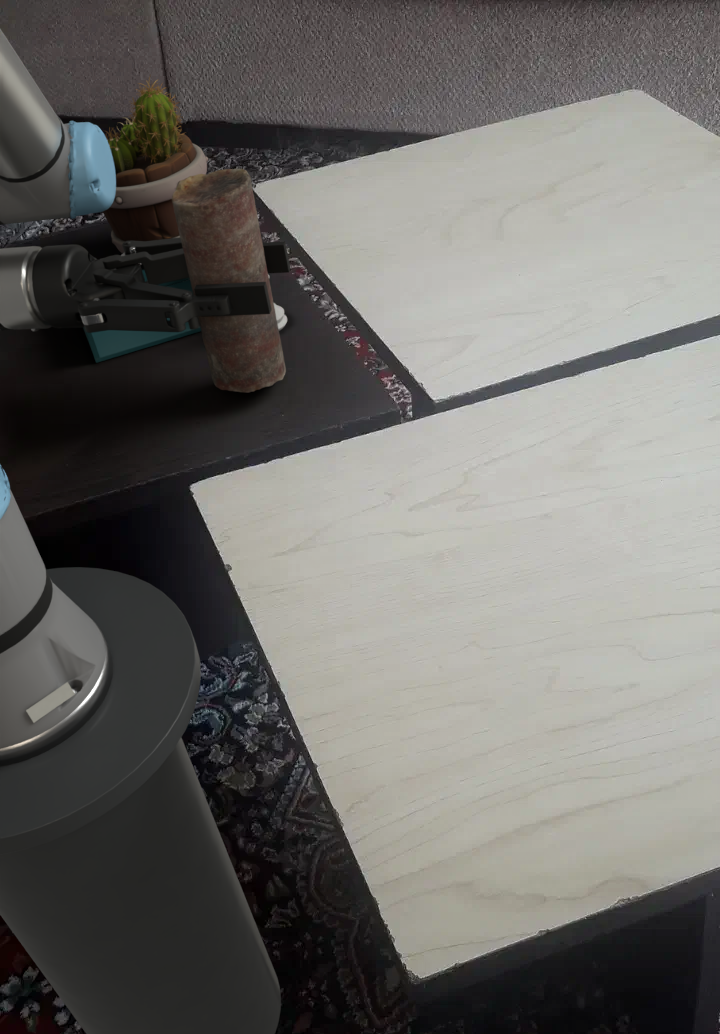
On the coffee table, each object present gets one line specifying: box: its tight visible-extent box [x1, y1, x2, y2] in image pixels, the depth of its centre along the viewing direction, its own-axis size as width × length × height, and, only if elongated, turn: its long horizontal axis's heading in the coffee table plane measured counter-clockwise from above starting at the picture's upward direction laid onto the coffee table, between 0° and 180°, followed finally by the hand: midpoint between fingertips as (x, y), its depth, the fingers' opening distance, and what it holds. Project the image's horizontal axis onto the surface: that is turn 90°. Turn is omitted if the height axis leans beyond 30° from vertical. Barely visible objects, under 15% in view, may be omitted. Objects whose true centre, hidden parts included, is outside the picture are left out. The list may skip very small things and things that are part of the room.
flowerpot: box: [102, 74, 209, 255], centre depth 126 cm, size 14×15×20 cm
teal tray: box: [82, 270, 201, 364], centre depth 120 cm, size 17×15×4 cm
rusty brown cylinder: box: [172, 167, 287, 393], centre depth 98 cm, size 8×7×20 cm
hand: (277, 276), depth 97 cm, fingers closed on rusty brown cylinder, 7 cm apart
